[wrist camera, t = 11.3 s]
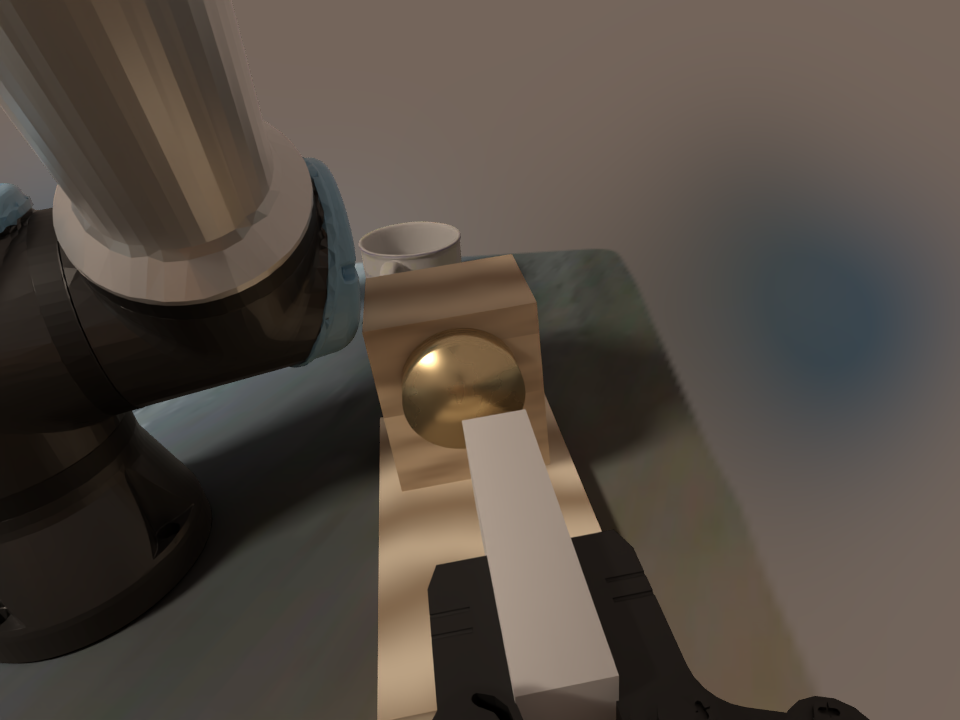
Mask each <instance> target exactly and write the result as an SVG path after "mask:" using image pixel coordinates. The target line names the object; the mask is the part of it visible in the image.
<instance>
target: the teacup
mask: <svg viewBox="0 0 960 720" xmlns="http://www.w3.org/2000/svg"><path fill="white" fill-rule="evenodd" d="M460 238H461V234H460V232H459V230H458V229H457V228H455V227H453V226H451V225H448V224H443V223H436V222H426V221H423V222H406V223H400V224H395V225H390V226H386V227H382V228H379V229H376V230H374V231H372V232H370V233H367V234H366V235H364V236H363V237H362V238H361V239H360V241H359V248H360V250H361V252H362V259H363V265H364V270H365V275H366V278H371V277H377V276H383V275H389V274H395V273H401V272H407V271H413V270H419V269H425V268H431V267H437V266H443V265H449V264H455V263H461V250H460Z"/></svg>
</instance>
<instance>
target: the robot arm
mask: <svg viewBox="0 0 960 720" xmlns="http://www.w3.org/2000/svg"><path fill="white" fill-rule="evenodd" d="M0 107H1V108H2V110H3V111H4V112H5V114H6V115H7V116H8V118H9V119H10V120H11V122H12V123H13V124H14V126H15V127H16V128H17V130H18V131H19V132H20V134H21V135H22V136H23V138H24V139H25V140H26V141H27V143H28V144H29V146H30V147H31V148H32V150H33V151H34V152H35V154H36V155H37V156H38V158H39V159H40V160H41V162H42V163H43V164H44V166H45V167H46V168H47V170H48V171H49V172H50V174H51V175H52V177H53V178H54V179H55V180H56V182H57V183H58V185H57V187H56V191H55V195H54V201H53V208H49V209H44V210H34V209H32V206H33V203H32V201H31V198H30V197H28V196H26V195H24V194H23V192H22V191H21V190H20V189H19V188H18V187H17V186H15V185H13V184H8V183H7V184H4V183H1V184H0V663H26V662H34V661H40V660H44V659H49V658H52V657H56V656H60V655H63V654H66V653H69V652H72V651H74V650H77V649H79V648H82V647H84V646H87V645H89V644H91V643H94V642H96V641H98V640H100V639H102V638H104V637H106V636H108V635H109V634H111V633H113V632H115V631H117V630H118V629H120V628H122V627H123V626H125V625H127V624H128V623H130V622H131V621H133V620H134V619H136V618H137V617H139V616H140V615H141V614H143V613H144V612H146V611H147V610H148V609H149V608H151V607H152V606H153V605H155V604H156V603H157V602H158V601H159V600H161V599H162V598H163V597H164V596H165V595H166V594H167V593H168V592H169V591H170V590H171V589H172V588H173V587H174V586H175V585H176V584H177V583H178V582H179V581H180V580H181V579H182V578H183V577H184V576H185V574H186V573H187V572H188V571H189V570H190V568H191V567H192V566H193V564H194V563H195V561H196V560H197V558H198V557H199V555H200V553H201V552H202V550H203V548H204V546H205V544H206V541H207V539H208V536H209V533H210V529H211V523H212V512H211V507H210V504H209V502H208V500H207V498H206V496H205V493H204V491H203V489H202V487H201V485H200V483H199V481H198V479H197V478H196V477H195V475H194V474H193V473H192V472H191V471H190V470H189V469H188V468H187V467H186V466H185V465H184V464H183V463H182V462H180V461H179V460H178V459H177V458H176V457H175V456H174V455H173V454H172V453H170V452H169V451H168V450H167V449H166V448H165V447H164V446H163V445H161V444H160V443H159V442H158V441H157V440H156V439H155V438H154V437H153V436H151V435H150V434H149V433H148V432H147V431H146V430H145V429H144V428H142V427H141V426H140V425H139V423H138V422H137V420H136V418H135V416H134V414H133V412H132V410H136V409H139V408H143V407H145V406H149V405H152V404H156V403H159V402H163V401H167V400H170V399H174V398H177V397H181V396H185V395H188V394H192V393H196V392H199V391H203V390H206V389H210V388H214V387H217V386H221V385H224V384H228V383H232V382H235V381H239V380H242V379H246V378H250V377H253V376H257V375H260V374H264V373H268V372H271V371H275V370H278V369H282V368H286V367H302V366H305V365H308V363H309V362H312V361H313V360H314V359H316V358H319V357H322V356H325V355H328V354H331V353H334V352H337V351H339V350H341V349H343V348H344V347H346V346H347V345H348V344H349V343H350V342H351V341H352V340H353V338H354V336H355V334H356V332H357V329H358V325H359V320H360V305H361V297H360V283H359V277H358V274H357V271H356V269H355V261H356V256H355V247H354V242H353V237H352V233H351V228H350V225H349V220H348V216H347V212H346V209H345V206H344V203H343V200H342V197H341V194H340V191H339V189H338V187H337V184H336V181H335V179H334V177H333V175H332V174H331V172H330V170H329V169H328V167H327V166H326V165H325V164H324V163H323V162H322V161H320V160H317V159H315V158H304V157H302V156H301V154H300V153H299V151H298V150H297V149H296V147H295V146H294V145H293V143H292V142H291V141H290V140H289V139H288V138H287V137H286V136H285V135H284V134H283V133H281V132H280V131H279V130H278V129H276V128H275V127H273V126H272V125H270V124H269V123H267V122H265V121H263V117H262V114H261V110H260V106H259V102H258V98H257V95H256V91H255V87H254V83H253V80H252V75H251V72H250V68H249V64H248V60H247V56H246V53H245V49H244V45H243V42H242V37H241V33H240V30H239V26H238V22H237V18H236V15H235V11H234V7H233V3H232V0H0ZM462 425H463V431H464V437H465V444H466V450H467V456H468V462H469V468H470V474H471V480H472V486H473V492H474V498H475V504H476V510H477V515H478V520H479V526H480V531H481V536H482V542H483V547H484V552H485V556H481V557H475V558H470V559H465V560H460V561H455V562H449V563H444V564H439V565H436V567H435V570H434V572H433V575H432V578H431V581H430V583H429V586H428V589H427V591H428V603H429V615H430V628H431V638H432V653H433V665H434V678H435V690H436V703H437V711H436V713H435V715H434V717H433V719H432V720H869V719H868V718H867V717H866V716H864V715H863V714H862V713H860V712H859V711H858V710H857V709H856V708H854V707H852V706H850V705H848V704H845V703H843V702H841V701H839V700H836V699H834V698H826V697H818V696H814V697H810V698H806V699H802V700H799V701H798V702H796V703H795V704H794V705H793V706H792V707H791V708H790V709H789V710H788V711H787V713H784V712H777V711H769V710H762V709H754V708H747V707H742V706H738V705H734V704H730V703H728V702H726V701H724V700H722V699H720V698H718V697H716V696H714V695H713V694H712V693H710V692H709V691H708V690H706V689H705V688H704V687H703V686H702V685H701V684H700V683H699V682H698V681H697V680H696V679H695V678H694V676H693V675H692V673H691V671H690V670H689V668H688V666H687V664H686V662H685V660H684V658H683V656H682V653H681V651H680V649H679V647H678V645H677V642H676V640H675V638H674V636H673V634H672V632H671V629H670V627H669V625H668V623H667V621H666V618H665V616H664V614H663V612H662V610H661V607H660V605H659V603H658V601H657V599H656V597H655V595H654V594H653V590H652V588H651V586H650V583H649V581H648V579H647V577H646V575H645V574H644V570H643V568H642V566H641V564H640V562H639V559H638V557H637V555H636V553H635V551H634V548H633V547H632V546H631V545H630V544H629V543H628V542H627V541H626V540H624V539H623V538H622V537H621V536H620V535H619V534H618V533H617V532H616V531H615V530H614V529H613V530H608V531H603V532H598V533H592V534H587V535H582V536H577V537H572V538H571V537H570V535H569V532H568V529H567V526H566V523H565V520H564V517H563V515H562V512H561V509H560V506H559V503H558V500H557V497H556V495H555V492H554V489H553V486H552V483H551V480H550V478H549V475H548V472H547V469H546V466H545V463H544V460H543V458H542V455H541V452H540V449H539V446H538V443H537V440H536V438H535V435H534V432H533V429H532V426H531V423H530V420H529V418H528V415H527V412H526V409H524V410H518V411H512V412H507V413H501V414H496V415H490V416H485V417H479V418H473V419H468V420H462Z"/></svg>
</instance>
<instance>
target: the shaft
mask: <svg viewBox="0 0 960 720" xmlns="http://www.w3.org/2000/svg"><path fill="white" fill-rule="evenodd" d="M401 389H402V406H403V411H404V414H405V417H406V419H407V421H408V423H409V425H410V426H411V428H412V429H413V430H414V431H415V432H416V433H417V434H418V435H419V436H421V437H422V438H423V439H425V440H427V441H428V442H430V443H433V444H435V445H438V446H441V447H445V448H452V449H466V444H465V437H464V431H463V425H462V420H468V419H473V418H479V417H485V416H490V415H496V414H501V413H507V412H512V411H518V410H522V409H523V406H524V402H525V395H526V394H525V384H524V380H523V377H522V374H521V372H520V369H519V366H518V363H517V361H516V358H515V356H514V354H513V352H512V351H511V350H510V348H509V347H508V346H507V345H506V344H505V343H504V342H503V341H502V340H501V339H499V338H498V337H496V336H494V335H493V334H491V333H488V332H486V331H483V330H479V329H473V328H455V329H449V330H445V331H442V332H439V333H436V334H434V335H432V336H430V337H429V338H427V339H426V340H424V341H423V342H422V343H420V344H419V345H418V346H417V347H416V348H415V349H414V350H413V351H412V353H411V354H410V356H409V357H408V359H407V361H406V363H405V365H404V368H403V371H402V377H401Z"/></svg>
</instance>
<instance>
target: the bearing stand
mask: <svg viewBox="0 0 960 720" xmlns="http://www.w3.org/2000/svg"><path fill="white" fill-rule="evenodd" d="M455 328H473V329H479V330H483V331H486V332H488V333H491V334H493V335H494V336H496V337H498V338H499V339H501V340H502V341H503V342H504V343H505V344H506V345H507V346H508V347H509V348H510V350H511V351H512V352H513V354H514V356H515V358H516V361H517V363H518V366H519V369H520V372H521V374H522V377H523V380H524V384H525V394H526V395H525V402H524V406H523V409H522V410H524V409H526V412H527V415H528V418H529V420H530V423H531V426H532V429H533V432H534V435H535V438H536V440H537V443H538V446H539V449H540V452H541V455H542V458H543V460H544V463H545V466H546V469H547V472H548V475H549V478H550V480H551V483H552V486H553V489H554V492H555V495H556V497H557V500H558V503H559V506H560V509H561V512H562V515H563V517H564V520H565V523H566V526H567V529H568V532H569V535H570V537H571V538H572V537H577V536H582V535H587V534H592V533H598V532H602V531H601V528H600V526H599V524H598V521H597V519H596V516H595V514H594V512H593V509H592V507H591V504H590V502H589V500H588V497H587V495H586V492H585V490H584V487H583V485H582V483H581V480H580V478H579V475H578V473H577V471H576V468H575V466H574V463H573V461H572V459H571V456H570V454H569V451H568V449H567V447H566V444H565V442H564V439H563V437H562V434H561V432H560V430H559V427H558V425H557V422H556V420H555V418H554V415H553V413H552V410H551V408H550V406H549V403H548V401H547V398H546V396H545V393H544V384H543V372H542V360H541V348H540V336H539V325H538V313H537V302H536V300H535V298H534V296H533V294H532V292H531V291H530V289H529V287H528V285H527V283H526V281H525V279H524V277H523V275H522V273H521V271H520V269H519V267H518V265H517V263H516V261H515V259H514V258H513V256H512V254H509V255H503V256H497V257H491V258H485V259H479V260H473V261H467V262H461V263H455V264H449V265H443V266H437V267H431V268H425V269H419V270H413V271H407V272H401V273H395V274H389V275H383V276H377V277H371V278H366V284H365V299H364V315H363V330H362V333H363V337H364V341H365V345H366V349H367V353H368V357H369V361H370V365H371V369H372V373H373V377H374V381H375V385H376V389H377V393H378V397H379V401H380V405H381V409H382V413H383V417H382V418H380V489H379V605H378V720H432V719H433V717H434V715H435V713H436V711H437V703H436V690H435V678H434V665H433V653H432V638H431V628H430V615H429V603H428V591H427V589H428V586H429V583H430V581H431V578H432V575H433V572H434V570H435V567H436V565H439V564H444V563H449V562H455V561H460V560H465V559H470V558H475V557H481V556H485V552H484V547H483V542H482V536H481V531H480V526H479V520H478V515H477V510H476V504H475V498H474V492H473V486H472V480H471V474H470V468H469V462H468V456H467V450H466V449H452V448H445V447H441V446H438V445H435V444H433V443H430V442H428V441H427V440H425V439H423V438H422V437H421V436H419V435H418V434H417V433H416V432H415V431H414V430H413V429H412V428H411V426H410V425H409V423H408V421H407V419H406V417H405V414H404V411H403V406H402V389H401V377H402V371H403V368H404V365H405V363H406V361H407V359H408V357H409V356H410V354H411V353H412V351H413V350H414V349H415V348H416V347H417V346H418V345H419V344H420V343H422V342H423V341H424V340H426V339H427V338H429V337H430V336H432V335H434V334H436V333H439V332H442V331H445V330H449V329H455Z"/></svg>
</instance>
